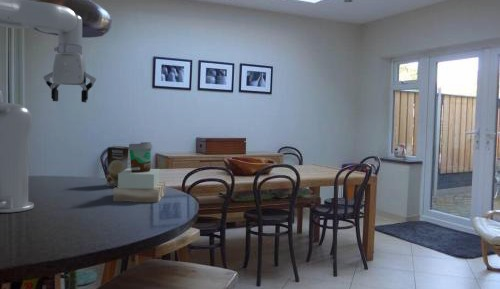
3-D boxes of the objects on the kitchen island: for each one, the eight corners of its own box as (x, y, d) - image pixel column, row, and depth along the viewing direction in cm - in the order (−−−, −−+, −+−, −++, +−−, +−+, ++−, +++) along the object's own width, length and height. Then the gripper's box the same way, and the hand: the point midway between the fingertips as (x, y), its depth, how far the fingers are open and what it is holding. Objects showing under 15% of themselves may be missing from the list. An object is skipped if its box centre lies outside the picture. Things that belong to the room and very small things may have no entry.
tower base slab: (157, 204, 150) (158, 189, 150) (113, 202, 150) (113, 188, 149) (165, 195, 167) (165, 182, 167) (125, 194, 167) (125, 181, 166)
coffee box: (105, 186, 180) (106, 147, 180) (112, 184, 187) (112, 146, 186) (127, 187, 180) (128, 148, 179) (133, 185, 186) (133, 147, 185)
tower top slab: (153, 188, 151) (153, 174, 151) (117, 188, 150) (118, 173, 150) (159, 182, 167) (159, 169, 166) (127, 181, 166) (127, 168, 165)
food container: (147, 172, 152) (145, 143, 151) (129, 172, 153) (128, 144, 152) (158, 168, 164) (157, 141, 164) (142, 169, 165) (141, 142, 164)
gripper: (39, 48, 146) (39, 100, 147) (92, 50, 147) (91, 102, 148) (48, 52, 153) (48, 101, 154) (99, 54, 154) (98, 103, 155)
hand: (69, 101), depth 151 cm, fingers open, 9 cm apart
